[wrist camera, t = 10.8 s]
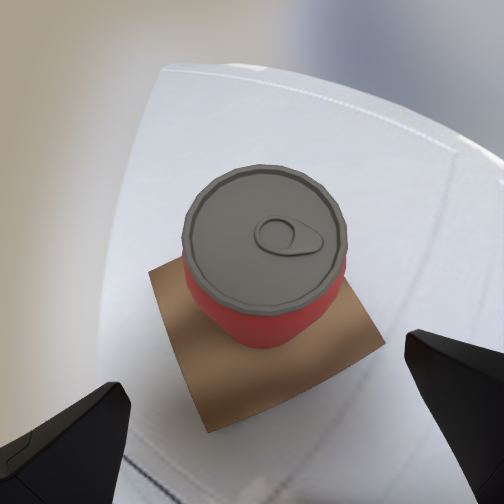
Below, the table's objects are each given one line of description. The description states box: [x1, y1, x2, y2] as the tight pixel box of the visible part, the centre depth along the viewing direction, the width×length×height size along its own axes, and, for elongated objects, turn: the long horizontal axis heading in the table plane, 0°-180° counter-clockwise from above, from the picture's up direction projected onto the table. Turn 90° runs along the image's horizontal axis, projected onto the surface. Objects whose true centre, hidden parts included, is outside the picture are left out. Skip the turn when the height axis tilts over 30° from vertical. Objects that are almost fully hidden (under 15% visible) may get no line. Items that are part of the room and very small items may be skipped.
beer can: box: [181, 164, 348, 349], centre depth 15 cm, size 7×7×12 cm
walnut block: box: [148, 256, 386, 433], centre depth 22 cm, size 14×14×2 cm
